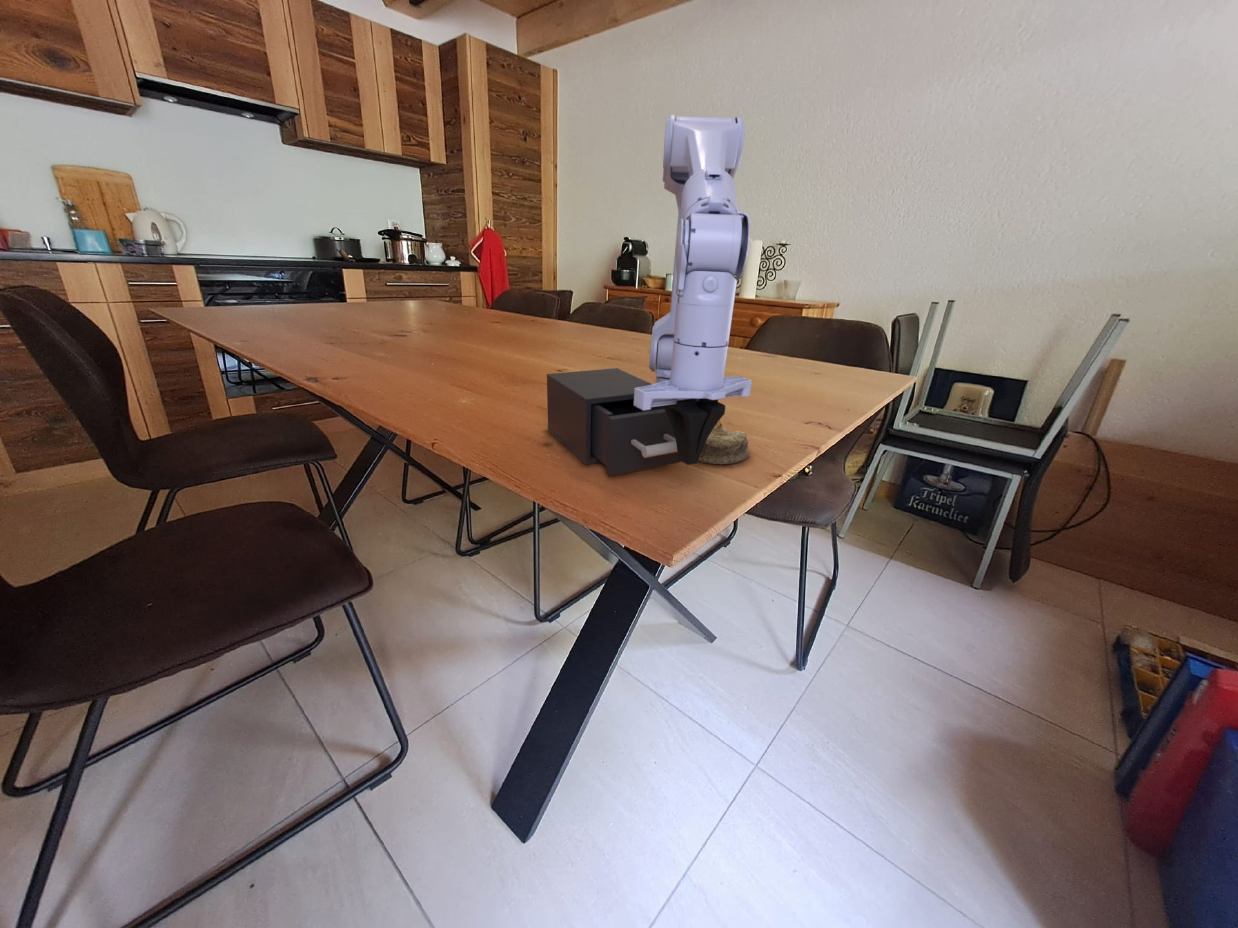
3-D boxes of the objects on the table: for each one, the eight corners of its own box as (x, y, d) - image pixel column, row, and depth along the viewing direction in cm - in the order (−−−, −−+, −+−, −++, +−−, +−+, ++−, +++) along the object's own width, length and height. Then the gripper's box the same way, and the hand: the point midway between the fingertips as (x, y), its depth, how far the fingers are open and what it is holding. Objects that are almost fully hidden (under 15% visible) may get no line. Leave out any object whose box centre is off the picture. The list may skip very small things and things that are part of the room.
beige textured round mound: (728, 475, 66) (731, 440, 64) (670, 456, 72) (671, 423, 69) (760, 451, 73) (764, 418, 70) (704, 435, 79) (706, 404, 76)
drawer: (700, 474, 63) (707, 418, 59) (626, 490, 58) (629, 430, 54) (633, 431, 77) (635, 384, 74) (568, 441, 72) (568, 391, 68)
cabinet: (660, 451, 72) (665, 390, 68) (585, 465, 66) (586, 399, 62) (615, 421, 83) (617, 368, 79) (547, 431, 78) (546, 373, 74)
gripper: (664, 354, 43) (653, 486, 49) (779, 345, 49) (758, 463, 55) (626, 341, 48) (620, 461, 54) (734, 335, 55) (719, 442, 61)
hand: (687, 460), depth 55 cm, fingers closed
